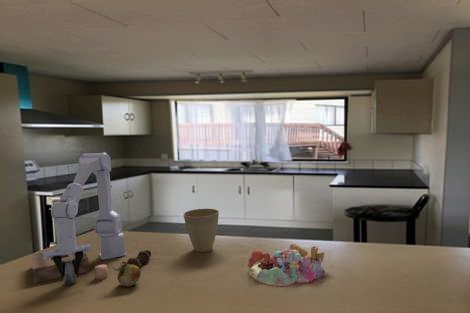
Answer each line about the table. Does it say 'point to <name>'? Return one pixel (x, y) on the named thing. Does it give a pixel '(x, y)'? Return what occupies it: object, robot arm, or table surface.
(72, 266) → the dark metallic cylinder
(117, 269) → the onion
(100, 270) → the pinkish tan rounded piece
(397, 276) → the table surface
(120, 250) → the robot arm
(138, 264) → the dark brown lumpy piece
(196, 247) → the plant pot
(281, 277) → the candy landscape model
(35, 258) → the hole block
